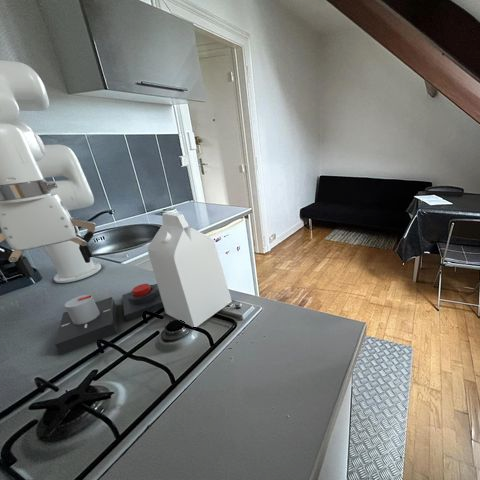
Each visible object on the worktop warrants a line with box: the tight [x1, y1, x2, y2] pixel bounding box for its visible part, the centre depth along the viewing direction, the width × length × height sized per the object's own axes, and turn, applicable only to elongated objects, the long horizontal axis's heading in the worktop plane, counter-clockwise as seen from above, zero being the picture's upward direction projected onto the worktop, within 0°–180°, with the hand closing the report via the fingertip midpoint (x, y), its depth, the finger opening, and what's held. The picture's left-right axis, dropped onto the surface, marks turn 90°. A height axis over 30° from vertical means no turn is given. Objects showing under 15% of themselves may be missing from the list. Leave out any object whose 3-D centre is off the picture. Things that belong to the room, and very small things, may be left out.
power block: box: [121, 283, 164, 322], centre depth 72 cm, size 12×10×4 cm
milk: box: [147, 211, 233, 328], centre depth 64 cm, size 12×12×26 cm
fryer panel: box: [54, 296, 118, 356], centre depth 64 cm, size 14×10×3 cm
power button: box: [132, 283, 151, 297], centre depth 71 cm, size 4×4×2 cm
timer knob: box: [64, 294, 100, 325], centre depth 62 cm, size 5×5×5 cm
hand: (60, 267), depth 58 cm, fingers open, 9 cm apart
